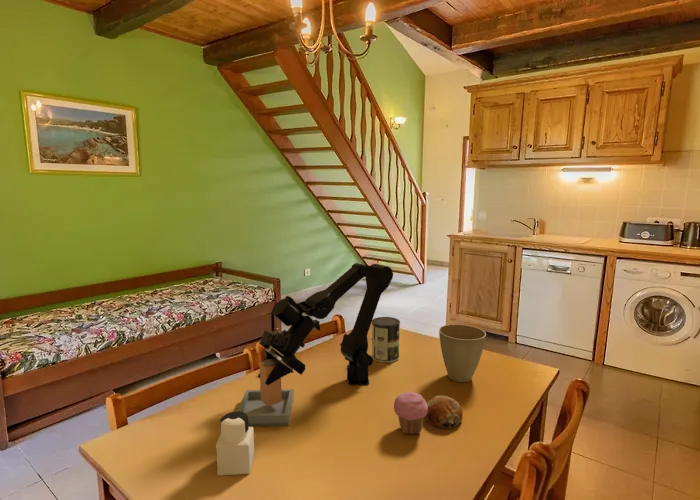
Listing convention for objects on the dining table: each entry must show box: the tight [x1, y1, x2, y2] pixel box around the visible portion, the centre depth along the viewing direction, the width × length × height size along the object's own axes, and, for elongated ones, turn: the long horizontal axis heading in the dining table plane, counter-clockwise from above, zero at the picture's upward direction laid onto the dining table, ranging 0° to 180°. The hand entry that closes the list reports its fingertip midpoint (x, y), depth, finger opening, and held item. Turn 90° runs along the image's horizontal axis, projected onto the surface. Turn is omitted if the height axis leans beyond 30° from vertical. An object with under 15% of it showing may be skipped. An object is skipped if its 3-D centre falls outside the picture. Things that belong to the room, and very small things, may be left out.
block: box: [258, 359, 283, 406], centre depth 114 cm, size 4×4×12 cm
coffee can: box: [371, 316, 401, 364], centre depth 151 cm, size 10×10×14 cm
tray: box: [236, 388, 295, 427], centre depth 115 cm, size 14×14×3 cm
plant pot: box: [438, 323, 487, 383], centre depth 134 cm, size 15×15×16 cm
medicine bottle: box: [215, 410, 255, 476], centre depth 92 cm, size 7×7×12 cm
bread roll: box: [425, 395, 463, 430], centre depth 111 cm, size 10×10×8 cm
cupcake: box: [393, 391, 428, 435], centre depth 106 cm, size 9×9×10 cm
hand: (262, 381), depth 113 cm, fingers closed on block, 4 cm apart
